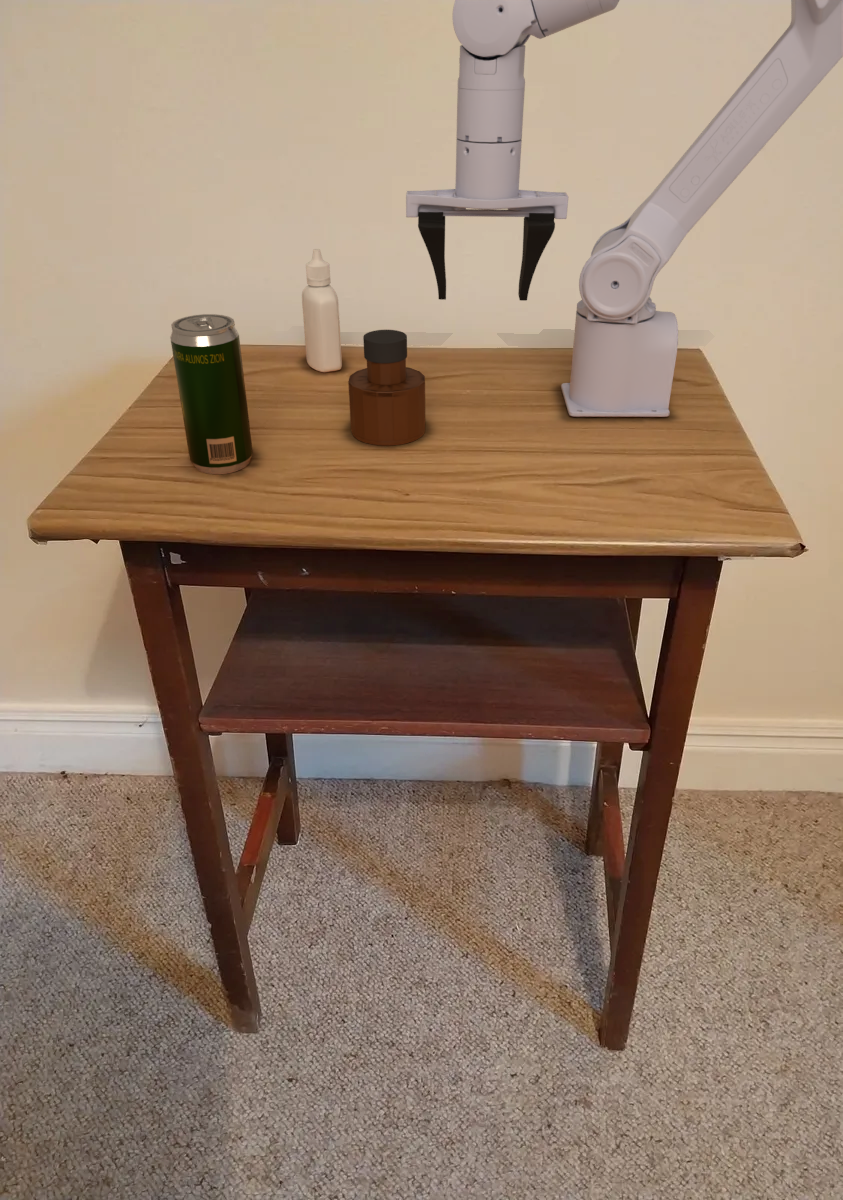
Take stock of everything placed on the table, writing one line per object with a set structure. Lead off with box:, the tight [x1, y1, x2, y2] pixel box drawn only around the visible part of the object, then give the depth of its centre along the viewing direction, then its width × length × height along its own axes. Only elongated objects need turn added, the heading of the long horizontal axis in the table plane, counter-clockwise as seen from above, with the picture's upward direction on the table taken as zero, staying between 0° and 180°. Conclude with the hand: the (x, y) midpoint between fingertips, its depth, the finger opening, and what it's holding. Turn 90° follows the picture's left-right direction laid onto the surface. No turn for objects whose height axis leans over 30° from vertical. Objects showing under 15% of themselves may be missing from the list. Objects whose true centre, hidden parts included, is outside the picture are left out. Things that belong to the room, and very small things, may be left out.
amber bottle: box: [347, 358, 426, 447], centre depth 82 cm, size 7×7×7 cm
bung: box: [362, 329, 408, 363], centre depth 80 cm, size 4×4×3 cm
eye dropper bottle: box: [301, 248, 343, 373], centre depth 96 cm, size 4×6×12 cm
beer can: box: [169, 313, 254, 475], centre depth 75 cm, size 5×5×12 cm
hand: (482, 297), depth 87 cm, fingers open, 7 cm apart
